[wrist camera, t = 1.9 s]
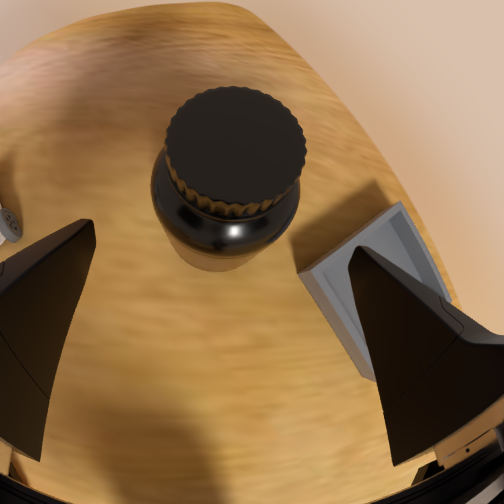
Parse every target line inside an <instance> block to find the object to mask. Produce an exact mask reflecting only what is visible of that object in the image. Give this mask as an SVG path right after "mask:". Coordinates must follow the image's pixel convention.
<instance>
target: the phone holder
mask: <svg viewBox="0 0 504 504" xmlns="http://www.w3.org/2000/svg"><path fill="white" fill-rule="evenodd" d="M21 237H22V232H21V230H20V228H19V227H18V223H17V219H16V217H15V216H14V214H13V213H12V212H11V211H10V210H9V209H7V208H2V207H1V204H0V245H1V244H2V243H3V242H4V241H5V240H6V239H7V240H8V241H10V242H12V243H15V242H17V241H18V240H19V239H20V238H21Z"/></svg>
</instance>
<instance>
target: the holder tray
mask: <svg viewBox="0 0 504 504" xmlns="http://www.w3.org/2000/svg"><path fill="white" fill-rule="evenodd" d="M358 245H361V246H368V247H369V248H371V249H373V250H374V251H376V252H377V253H379V254H380V255H382V256H383V257H385V258H386V259H388V260H389V261H391V262H392V263H394V264H395V265H397V266H398V267H400V268H401V269H403V270H404V271H405V272H407V273H408V274H410V275H411V276H413V277H414V278H416V279H417V280H418V281H420V282H421V283H423V284H424V285H425V286H427V287H428V288H430V289H431V290H432V291H434V292H435V293H437V294H438V296H441V297H442V298H443V299H445V300H446V301H448V302H449V303H451V302H452V300H451V297H450V295H449V293H448V290H447V288H446V286H445V284H444V281H443V279H442V277H441V275H440V273H439V271H438V269H437V266H436V264H435V262H434V260H433V258H432V256H431V254H430V252H429V250H428V249H427V247H426V245H425V243H424V241H423V239H422V237H421V235H420V234H419V232H418V230H417V228H416V226H415V225H414V223H413V221H412V219H411V218H410V216H409V214H408V213H407V211H406V209H405V207H404V206H403V204H402V203H401V201H399V202H397V203H395V204H393V205H391V206H389V207H387V208H385V209H383V210H382V211H381V212H380V213H378V214H377V215H376V216H374V217H373V218H372V219H371V220H369V221H368V222H367V223H365V224H364V225H363V226H361V227H360V228H359V229H358V230H356V231H355V232H354V233H352V234H351V235H350V236H348V237H347V238H346V239H344V240H343V241H342V242H340V243H339V244H338V245H336V246H335V247H334V248H332V249H331V250H330V251H328V252H327V253H326V254H324V255H323V256H322V257H320V258H319V259H317V260H316V261H315V262H313V263H312V264H311V265H309V266H308V267H306V268H305V269H304V270H302V271H301V272H300V273H298V276H299V277H300V279H301V280H302V282H303V283H304V285H305V287H306V288H307V290H308V291H309V293H310V294H311V296H312V297H313V299H314V301H315V302H316V304H317V305H318V307H319V308H320V310H321V311H322V313H323V315H324V316H325V318H326V319H327V321H328V323H329V324H330V326H331V327H332V329H333V330H334V332H335V334H336V335H337V337H338V338H339V340H340V342H341V343H342V345H343V346H344V348H345V350H346V351H347V353H348V354H349V356H350V358H351V359H352V361H353V363H354V364H355V366H356V367H357V369H358V371H359V372H360V374H361V376H362V377H364V378H366V379H369V380H371V381H374V382H376V379H375V375H374V371H373V367H372V363H371V359H370V355H369V351H368V348H367V344H366V341H365V337H364V333H363V330H362V326H361V323H360V320H359V316H358V313H357V310H356V306H355V302H354V297H353V292H352V287H351V282H350V278H349V273H348V264H349V261H350V259H351V257H352V254H353V252H354V249H355V248H356V246H358Z"/></svg>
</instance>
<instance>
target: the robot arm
mask: <svg viewBox="0 0 504 504" xmlns="http://www.w3.org/2000/svg"><path fill="white" fill-rule="evenodd" d="M95 248H96V236H95V229H94V223H93V221H92V220H91V219H80V220H78V221H75V222H73V223H71V224H69V225H67V226H66V227H64V228H62V229H60V230H58V231H56V232H54V233H52V234H50V235H48V236H46V237H45V238H43V239H41V240H39V241H37V242H35V243H34V244H32V245H30V246H28V247H26V248H25V249H23V250H21V251H20V252H18V253H16V254H14V255H13V256H11V257H9V258H8V259H6V260H5V261H3V262H1V263H0V504H72V503H69V502H66V501H64V500H61V499H58V498H55V497H53V496H50V495H48V494H45V493H43V492H40V491H38V490H36V489H33V488H31V487H29V486H27V485H25V484H23V483H22V481H21V479H20V477H19V476H18V474H17V472H16V470H15V468H14V466H13V464H12V462H10V461H11V456H12V450H13V451H15V452H17V453H19V454H21V455H23V456H26V457H28V458H30V459H33V460H35V461H38V462H40V458H41V450H42V442H43V435H44V429H45V423H46V417H47V412H48V407H49V402H50V401H49V400H50V396H51V392H52V387H53V383H54V379H55V375H56V371H57V367H58V363H59V360H60V356H61V353H62V349H63V346H64V343H65V339H66V336H67V333H68V330H69V327H70V324H71V321H72V318H73V315H74V312H75V309H76V307H77V304H78V301H79V299H80V296H81V293H82V291H83V288H84V285H85V282H86V279H87V275H88V271H89V268H90V265H91V261H92V258H93V255H94V251H95ZM348 273H349V278H350V282H351V287H352V292H353V297H354V302H355V306H356V310H357V313H358V316H359V320H360V323H361V326H362V330H363V333H364V337H365V341H366V344H367V348H368V351H369V355H370V359H371V363H372V367H373V371H374V375H375V379H376V383H377V387H378V391H379V396H380V400H381V405H382V409H383V411H384V412H383V414H384V419H385V424H386V429H387V434H388V440H389V445H390V451H391V457H392V463H393V466H394V467H395V466H398V465H401V464H403V463H406V462H409V461H411V460H414V459H416V458H419V457H421V456H423V455H426V454H428V453H430V452H432V451H434V452H435V455H436V458H437V460H435V461H432V462H430V463H428V464H426V465H424V466H422V467H420V468H419V469H418V471H417V474H416V476H415V478H414V480H413V482H412V484H411V486H410V487H408V488H406V489H403V490H401V491H398V492H396V493H393V494H391V495H388V496H385V497H383V498H380V499H377V500H374V501H371V502H368V503H365V504H504V335H497V334H494V333H492V332H490V331H489V330H487V329H486V328H484V327H483V326H482V325H480V324H478V323H477V322H476V321H474V320H473V319H471V318H470V317H469V316H467V315H466V314H464V313H463V312H462V311H460V310H459V309H457V308H456V307H454V306H453V305H452V304H450V303H449V302H448V301H446V300H445V299H443V298H442V297H441V296H438V294H437V293H435V292H434V291H432V290H431V289H430V288H428V287H427V286H425V285H424V284H423V283H421V282H420V281H418V280H417V279H416V278H414V277H413V276H411V275H410V274H408V273H407V272H405V271H404V270H403V269H401V268H400V267H398V266H397V265H395V264H394V263H392V262H391V261H389V260H388V259H386V258H385V257H383V256H382V255H380V254H379V253H377V252H376V251H374V250H373V249H371V248H369V247H368V246H361V245H358V246H356V248H355V249H354V252H353V254H352V257H351V259H350V261H349V264H348Z"/></svg>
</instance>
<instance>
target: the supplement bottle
mask: <svg viewBox="0 0 504 504" xmlns="http://www.w3.org/2000/svg"><path fill="white" fill-rule="evenodd" d="M166 136H167V137H166V139H165V142H164V147H163V148H162V150H161V151H160V153H159V155H158V156H157V159H156V161H155V163H154V167H153V170H152V175H151V184H150V187H151V197H152V202H153V206H154V209H155V212H156V214H157V217H158V219H159V221H160V223H161V225H162V227H163V229H164V231H165V232H166V234H167V236H168V238H169V240H170V242H171V244H172V246H173V247H174V249H175V250H176V252H177V253H178V254H179V256H180V257H181V258H182V259H183V260H185V261H186V262H187V263H189V264H190V265H192V266H194V267H196V268H198V269H201V270H204V271H209V272H224V271H229V270H232V269H235V268H237V267H239V266H241V265H243V264H245V263H246V262H248V261H249V260H250V259H252V258H253V257H254V256H256V255H257V254H259V253H260V252H261V251H263V250H264V249H265V248H267V247H268V246H269V245H271V244H272V243H273V242H275V241H276V240H277V239H278V238H279V237H280V236H281V235H282V234H283V233H284V231H285V230H286V229H287V228H288V226H289V225H290V223H291V222H292V220H293V218H294V216H295V214H296V211H297V208H298V204H299V200H300V176H301V171H302V168H303V167H304V166H305V156H306V154H307V149H306V147H305V144H306V139H305V137H304V136H303V129H302V128H301V126H300V125H299V124H298V121H297V118H295V117H294V116H293V115H292V114H291V112H290V110H289V109H288V108H286V107H284V106H283V105H282V103H281V102H280V101H278V100H276V99H274V98H272V97H271V96H270V95H268V94H264V93H262V92H260V91H259V90H252V89H249V88H247V87H236V86H230V87H218V88H216V89H208V90H207V91H205V92H204V93H199V94H197V95H195V97H194V98H192V99H189V100H187V101H186V102H185V104H184V105H183V106H182V107H180V108H179V109H178V110H177V114H176V115H175V116H173V117H172V118H171V123H170V126H169V127H168V128H167V130H166Z"/></svg>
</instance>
